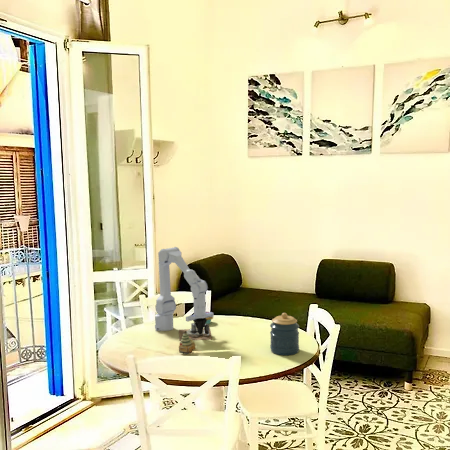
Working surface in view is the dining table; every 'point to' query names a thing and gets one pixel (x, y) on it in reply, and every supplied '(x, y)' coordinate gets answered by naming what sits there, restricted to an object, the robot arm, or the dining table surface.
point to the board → (195, 337)
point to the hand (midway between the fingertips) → (200, 333)
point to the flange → (205, 333)
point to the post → (193, 328)
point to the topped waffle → (186, 344)
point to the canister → (284, 335)
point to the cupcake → (208, 319)
